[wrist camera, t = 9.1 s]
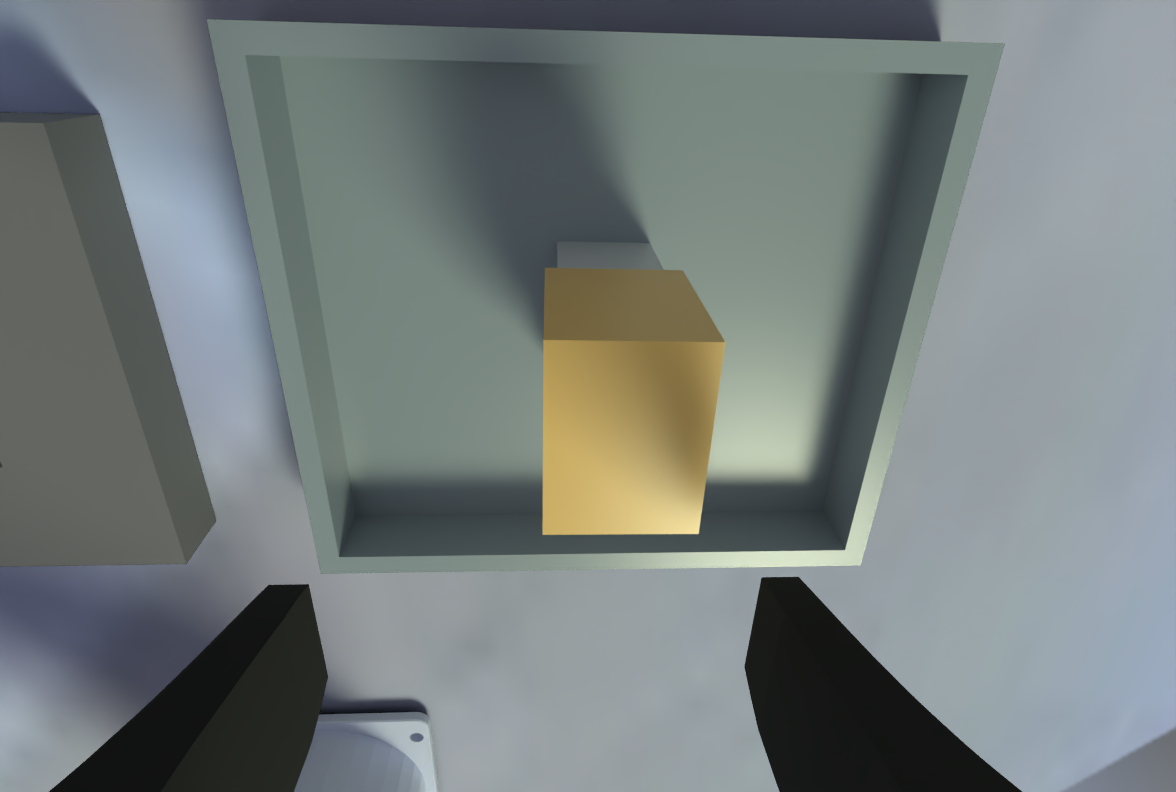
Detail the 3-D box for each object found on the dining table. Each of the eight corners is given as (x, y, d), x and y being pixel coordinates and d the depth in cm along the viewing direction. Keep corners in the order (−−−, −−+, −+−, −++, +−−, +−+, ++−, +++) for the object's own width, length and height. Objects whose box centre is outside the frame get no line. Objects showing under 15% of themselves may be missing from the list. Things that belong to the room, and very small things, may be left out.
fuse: (650, 375, 19) (698, 533, 13) (544, 374, 19) (542, 535, 13) (662, 235, 17) (725, 342, 11) (545, 233, 17) (543, 340, 11)
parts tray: (829, 514, 23) (860, 565, 20) (344, 519, 22) (320, 573, 19) (942, 43, 16) (1004, 43, 14) (256, 22, 15) (206, 19, 13)
